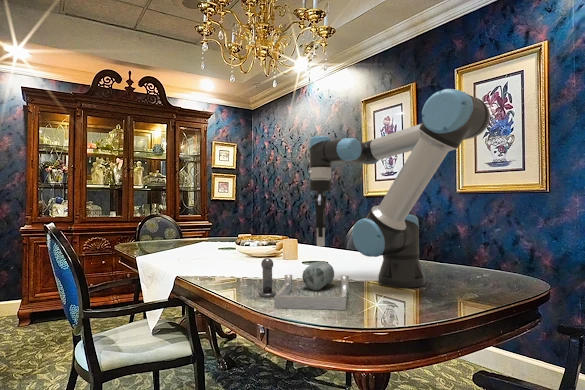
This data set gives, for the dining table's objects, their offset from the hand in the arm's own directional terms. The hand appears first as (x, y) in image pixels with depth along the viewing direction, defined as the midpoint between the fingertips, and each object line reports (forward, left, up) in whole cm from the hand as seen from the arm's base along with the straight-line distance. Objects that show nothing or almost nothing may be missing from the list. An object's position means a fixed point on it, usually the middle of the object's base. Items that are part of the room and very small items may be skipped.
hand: (320, 245), depth 141 cm
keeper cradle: (0, +30, -12) cm, 32 cm away
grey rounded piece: (0, +13, -12) cm, 18 cm away
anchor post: (+14, +26, -12) cm, 32 cm away
